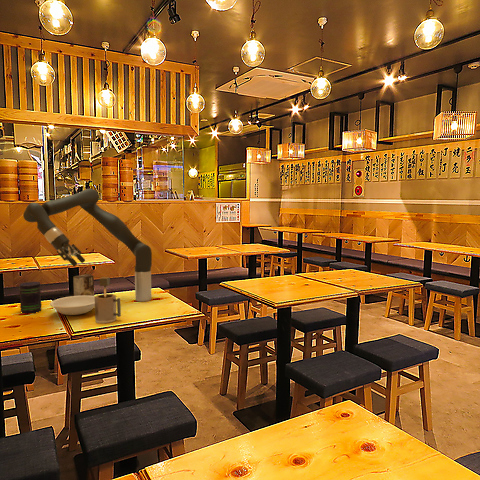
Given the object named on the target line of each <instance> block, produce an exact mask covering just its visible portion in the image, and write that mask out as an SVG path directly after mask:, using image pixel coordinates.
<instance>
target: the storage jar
mask: <svg viewBox="0 0 480 480" xmlns="http://www.w3.org/2000/svg"><path fill="white" fill-rule="evenodd" d="M41 288H42V287H41V282H40V281H26V282H21V283H19V296H20V307H19V308H20V313H21V312H22V313H34V314H37V313H36V312H38V313H40V312H39V311H41V310H42V299H41V293H42V292H41V291H42V290H41ZM41 312H42V311H41ZM22 313H21V314H22Z"/></svg>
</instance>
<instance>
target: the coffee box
mask: <svg viewBox="0 0 480 480" xmlns="http://www.w3.org/2000/svg"><path fill="white" fill-rule="evenodd" d="M72 279H73V296H81V295H88V296H95V280H94V275H93V274H90V273H84V274H81V275H75V276H73V277H72Z"/></svg>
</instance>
